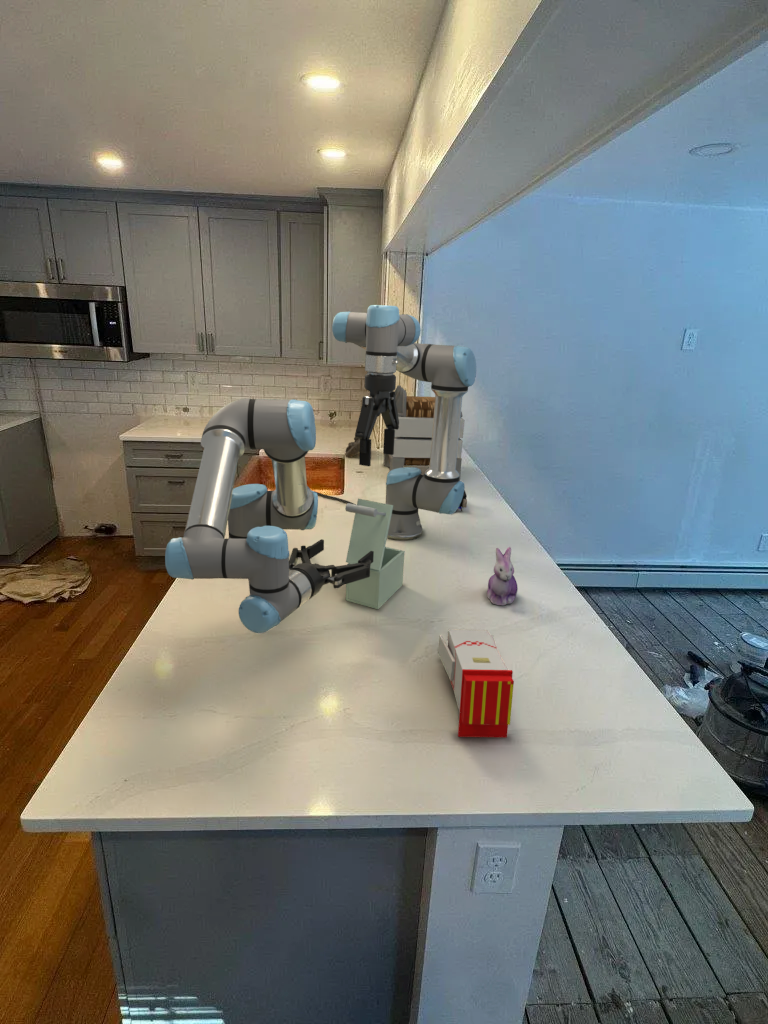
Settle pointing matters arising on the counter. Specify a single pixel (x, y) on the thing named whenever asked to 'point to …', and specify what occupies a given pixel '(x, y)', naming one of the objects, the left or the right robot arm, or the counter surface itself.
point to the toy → (478, 682)
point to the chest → (379, 581)
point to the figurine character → (463, 502)
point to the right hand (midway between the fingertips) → (377, 459)
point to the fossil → (353, 448)
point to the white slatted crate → (416, 432)
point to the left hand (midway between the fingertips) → (346, 550)
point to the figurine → (502, 580)
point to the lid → (369, 531)
